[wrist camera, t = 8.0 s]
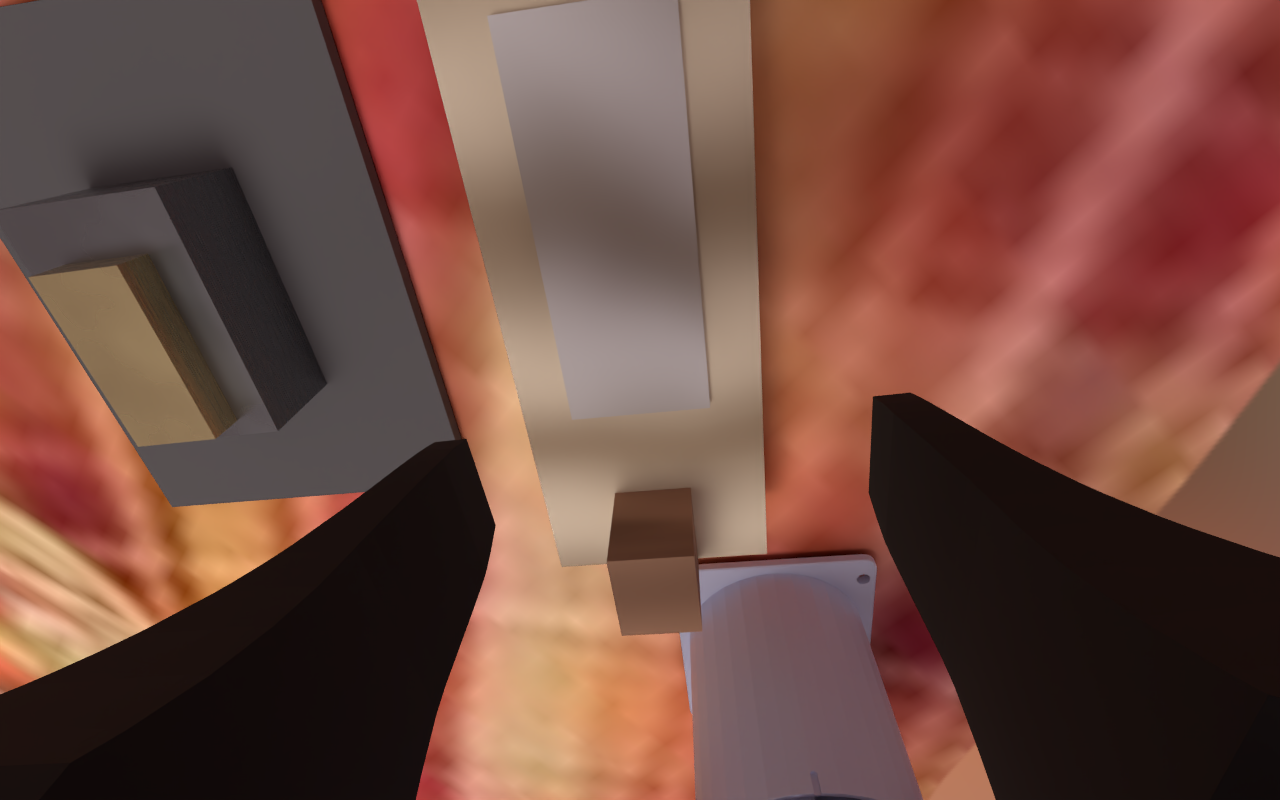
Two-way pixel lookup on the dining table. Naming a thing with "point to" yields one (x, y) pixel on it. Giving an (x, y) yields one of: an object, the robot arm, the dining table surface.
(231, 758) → the robot arm
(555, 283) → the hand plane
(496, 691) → the dining table surface
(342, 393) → the rubber mat
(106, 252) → the lever cap
